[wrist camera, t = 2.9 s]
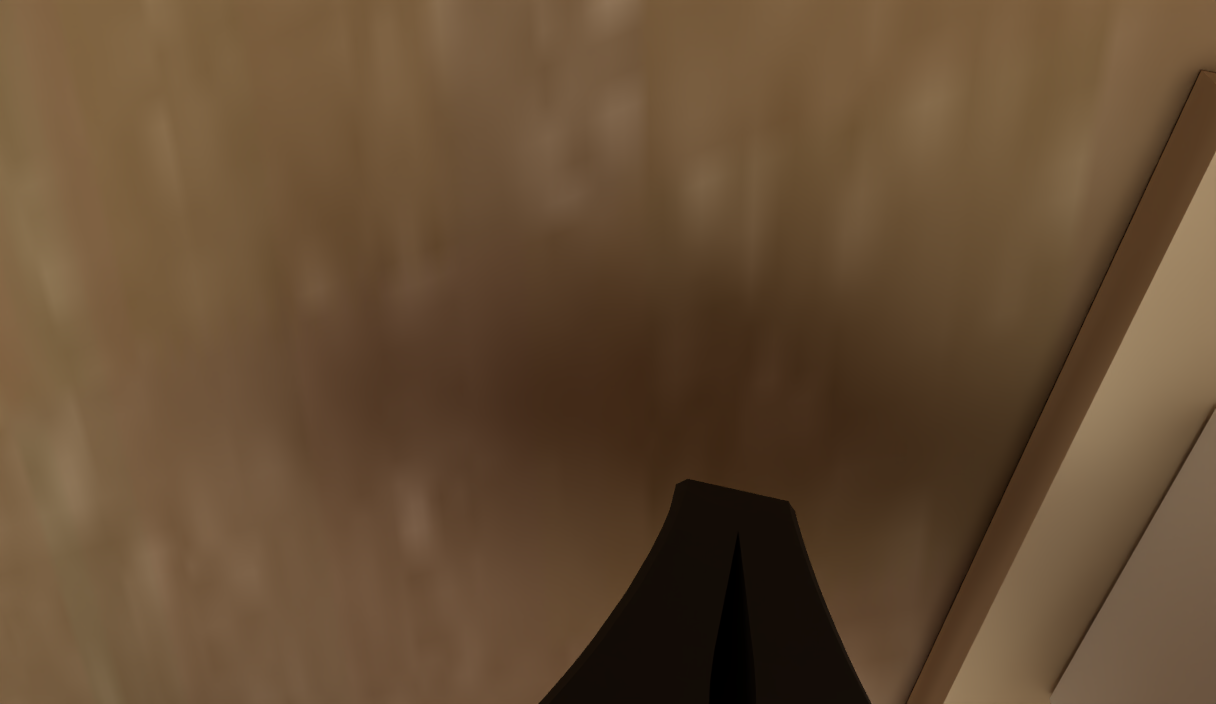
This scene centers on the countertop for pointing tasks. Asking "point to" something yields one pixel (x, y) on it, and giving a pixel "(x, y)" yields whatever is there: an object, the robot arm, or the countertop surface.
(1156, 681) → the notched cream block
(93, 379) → the countertop surface
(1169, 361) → the linear slide rail
